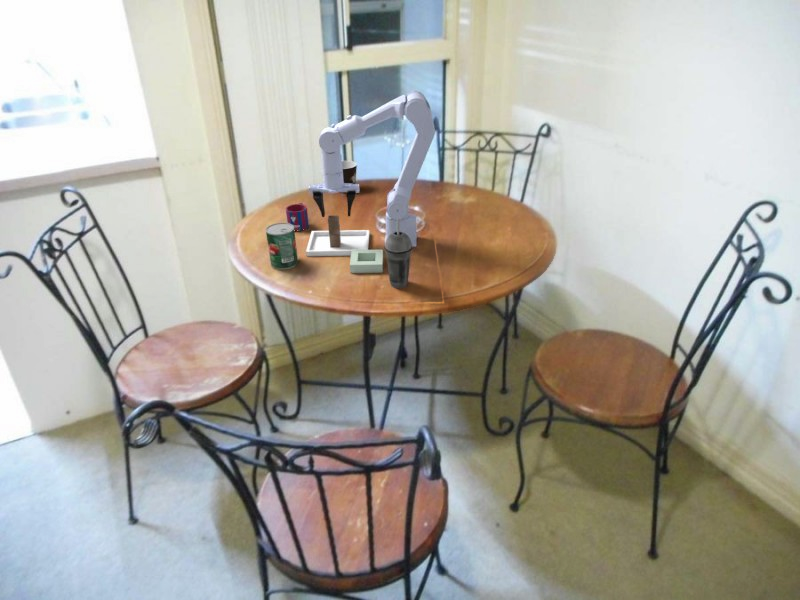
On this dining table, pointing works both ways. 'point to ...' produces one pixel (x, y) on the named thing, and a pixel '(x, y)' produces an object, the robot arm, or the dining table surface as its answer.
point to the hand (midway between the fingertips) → (336, 215)
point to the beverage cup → (398, 257)
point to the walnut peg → (334, 231)
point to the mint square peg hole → (366, 261)
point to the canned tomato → (282, 245)
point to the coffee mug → (349, 172)
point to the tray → (349, 242)
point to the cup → (297, 216)
